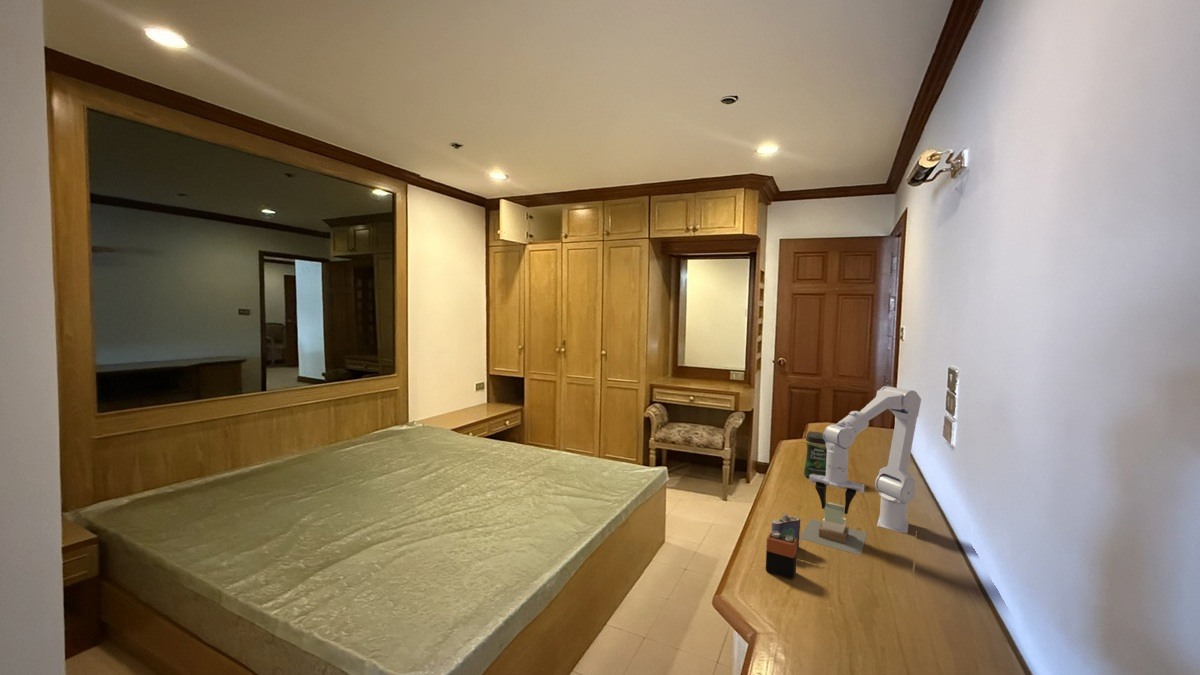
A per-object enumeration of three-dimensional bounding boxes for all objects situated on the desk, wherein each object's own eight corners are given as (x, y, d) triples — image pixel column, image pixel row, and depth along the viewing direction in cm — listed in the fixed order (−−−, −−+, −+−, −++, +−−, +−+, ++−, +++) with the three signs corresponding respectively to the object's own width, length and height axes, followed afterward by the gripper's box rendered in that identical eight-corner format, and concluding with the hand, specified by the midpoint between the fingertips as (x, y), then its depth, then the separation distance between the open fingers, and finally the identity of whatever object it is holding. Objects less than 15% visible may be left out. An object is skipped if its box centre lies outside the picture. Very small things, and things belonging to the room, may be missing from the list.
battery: (769, 564, 125) (770, 527, 124) (796, 572, 121) (797, 534, 121) (765, 571, 121) (766, 534, 121) (793, 580, 118) (794, 541, 117)
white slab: (825, 521, 144) (826, 513, 144) (845, 526, 141) (846, 518, 141) (822, 528, 140) (822, 520, 139) (842, 533, 136) (843, 525, 136)
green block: (827, 514, 143) (827, 502, 143) (843, 518, 140) (844, 505, 140) (824, 520, 139) (824, 507, 139) (841, 524, 137) (841, 511, 137)
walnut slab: (823, 527, 145) (823, 520, 145) (848, 534, 141) (848, 526, 141) (818, 536, 140) (819, 528, 139) (845, 543, 136) (845, 535, 135)
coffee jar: (802, 478, 189) (804, 432, 188) (805, 472, 196) (807, 428, 195) (829, 482, 184) (831, 436, 183) (830, 476, 191) (832, 432, 190)
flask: (774, 555, 130) (775, 517, 129) (767, 550, 132) (768, 513, 132) (801, 550, 132) (802, 513, 132) (793, 545, 135) (795, 509, 135)
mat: (810, 519, 152) (810, 518, 152) (867, 534, 142) (867, 532, 142) (799, 539, 139) (799, 538, 139) (860, 556, 129) (860, 555, 129)
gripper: (807, 464, 140) (806, 508, 141) (863, 474, 132) (860, 521, 132) (812, 458, 146) (810, 500, 147) (865, 468, 137) (863, 513, 138)
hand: (834, 510), depth 140 cm, fingers open, 5 cm apart
